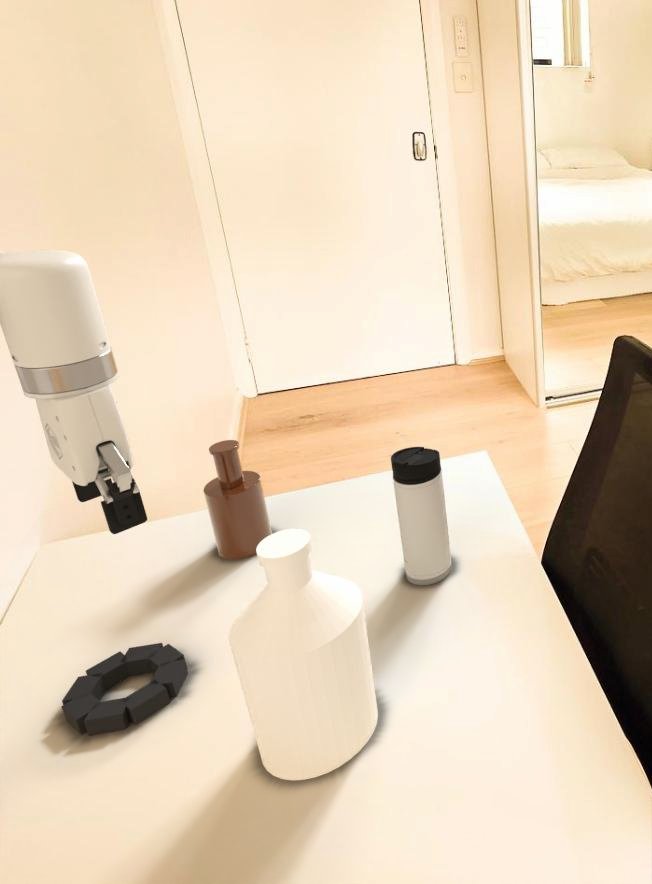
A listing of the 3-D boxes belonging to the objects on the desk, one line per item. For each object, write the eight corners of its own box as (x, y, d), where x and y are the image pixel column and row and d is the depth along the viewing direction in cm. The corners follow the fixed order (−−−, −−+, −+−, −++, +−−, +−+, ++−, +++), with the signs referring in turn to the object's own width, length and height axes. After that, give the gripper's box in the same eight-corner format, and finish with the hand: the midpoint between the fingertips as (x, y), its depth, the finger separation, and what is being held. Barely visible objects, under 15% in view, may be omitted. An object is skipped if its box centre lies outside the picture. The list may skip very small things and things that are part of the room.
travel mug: (394, 581, 98) (377, 459, 91) (425, 553, 104) (411, 437, 97) (431, 592, 96) (416, 468, 89) (460, 563, 102) (449, 445, 95)
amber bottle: (235, 566, 100) (211, 463, 94) (208, 550, 103) (183, 449, 97) (283, 540, 106) (263, 442, 100) (256, 526, 109) (235, 429, 103)
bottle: (248, 800, 68) (194, 597, 60) (268, 705, 78) (225, 520, 70) (379, 762, 72) (347, 567, 64) (382, 676, 83) (354, 498, 74)
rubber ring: (97, 751, 72) (91, 735, 72) (52, 708, 77) (46, 692, 76) (204, 682, 81) (200, 666, 80) (158, 647, 86) (153, 632, 85)
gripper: (-4, 361, 73) (44, 499, 79) (49, 406, 64) (99, 559, 69) (85, 342, 79) (124, 472, 84) (145, 380, 69) (184, 523, 75)
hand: (112, 511), depth 77 cm, fingers open, 9 cm apart
